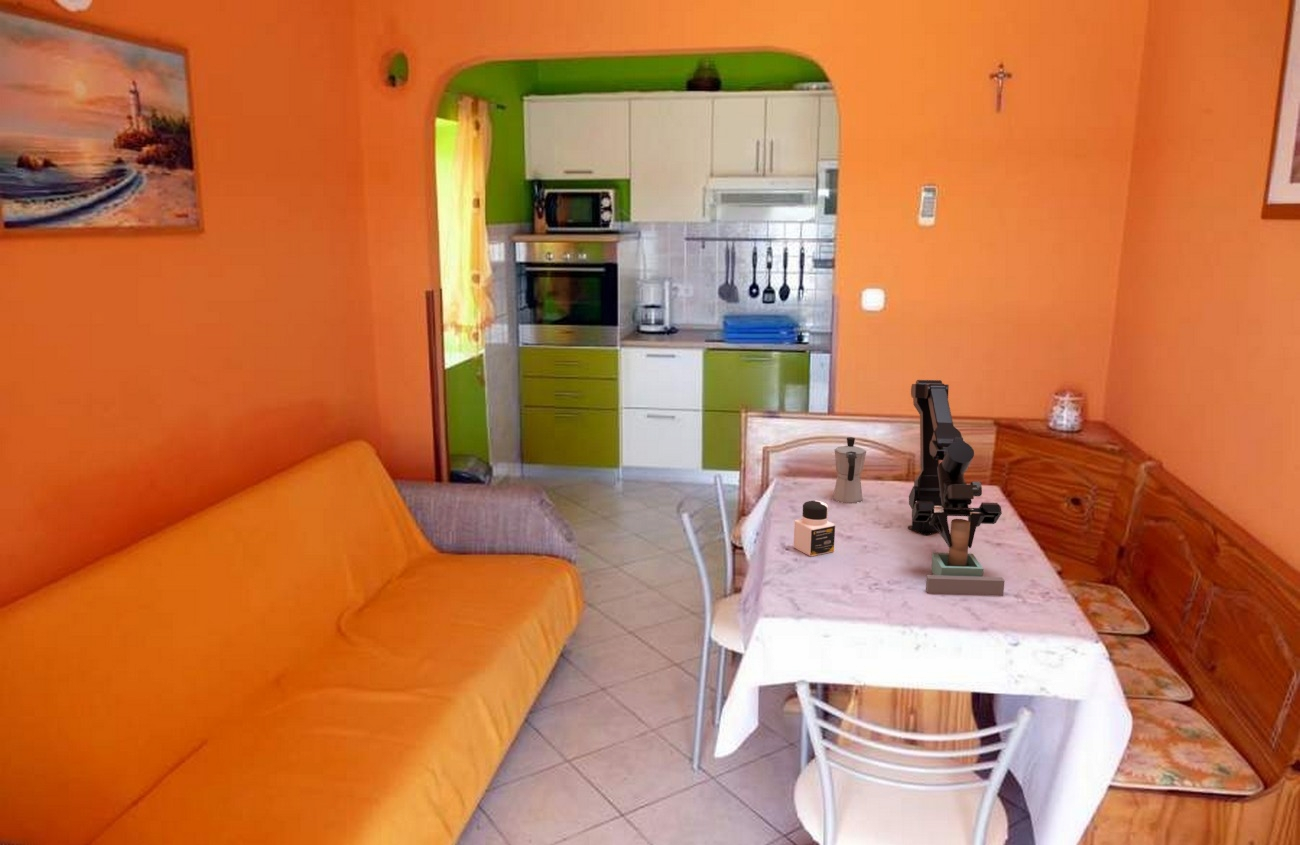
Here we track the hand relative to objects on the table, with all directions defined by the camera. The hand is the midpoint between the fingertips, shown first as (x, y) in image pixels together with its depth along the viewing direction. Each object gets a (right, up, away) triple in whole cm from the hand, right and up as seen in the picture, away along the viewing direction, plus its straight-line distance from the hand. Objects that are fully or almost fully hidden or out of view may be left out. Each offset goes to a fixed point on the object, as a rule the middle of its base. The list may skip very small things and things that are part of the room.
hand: (960, 547), depth 208 cm
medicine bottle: (-29, -4, +21) cm, 36 cm away
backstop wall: (0, -9, -4) cm, 10 cm away
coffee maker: (-12, +5, +59) cm, 60 cm away
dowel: (0, -6, +3) cm, 7 cm away
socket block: (0, -8, +3) cm, 8 cm away
